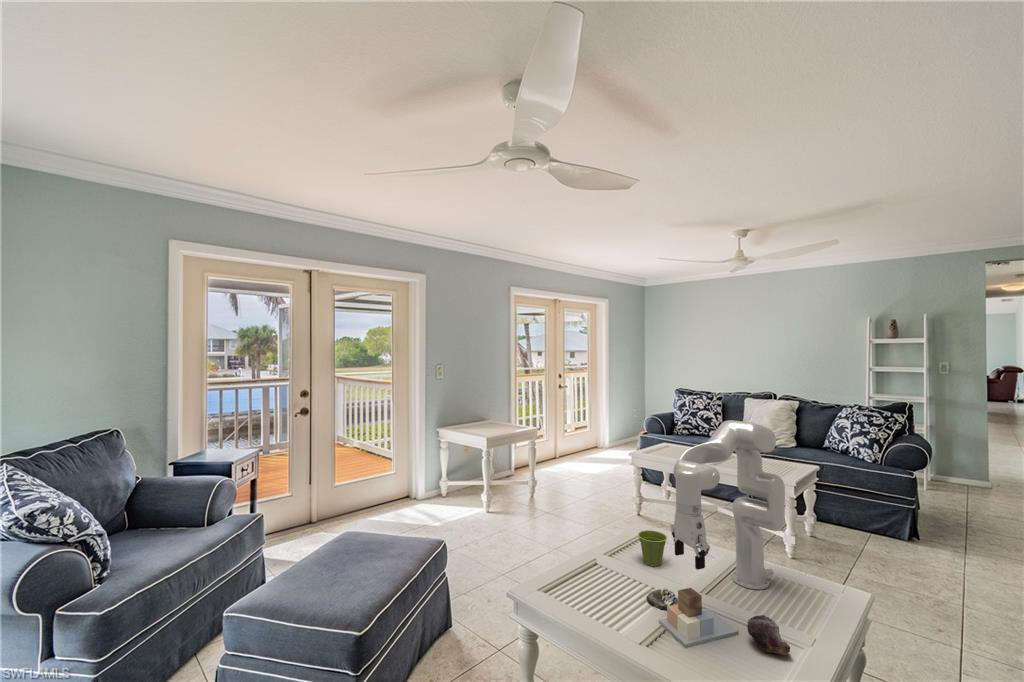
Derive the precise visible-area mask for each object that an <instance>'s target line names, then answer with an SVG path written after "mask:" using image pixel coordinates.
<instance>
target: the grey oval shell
mask: <svg viewBox="0 0 1024 682" xmlns="http://www.w3.org/2000/svg"><path fill="white" fill-rule="evenodd" d="M646 600H647V603H648V604H649V605H650V606H652V607H653V608H655V609H658V610H660V611H664V612H667V606H672V605H676V604H678V597H677V594H676V593H675V592H674V591H672V590H669V588H662V589H655V590H652V591H651V592H649V593H648V594H647V596H646Z"/></svg>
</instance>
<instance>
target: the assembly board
mask: <svg viewBox="0 0 1024 682" xmlns="http://www.w3.org/2000/svg"><path fill="white" fill-rule="evenodd" d="M703 610H704V611H706V612H707V613H708V614H709V615H711V616H712V617H713V618H714V633H712V634H708V635H704V636H700V637H696V638H692V639H688V640H687V639H686V638H685V637H684V636H683V635H682V634H681V633H680V632H678V631H677V630H676V629H675V628H674V627H673V626H672V625H671V624H670V623H669V622H667V617H665V618H661V619H658V624H659V625H661V627H662V628H663V629H664V630H665V631H666V632H668V633H669V634H670V635H671V636H672V637H673V638H674V639H675V640H676V641H678V643H680V644H681V645H682V646H683V647H684V648H685V649H686V648H690V647H693V646H698V645H701V644H705V643H709V642H713V641H717V640H721V639H725V638H729V637H732V636H737V635H739V633H740V632H739V631H740V630H738V629H737V628H735V627H734V626H733V625H731V623H728V622H727V621H726V620H725V619H723V618H722V617H721V616H720V615H718V614H717V613H716V612H714V611H713V610H712V609H710V608H705V609H703Z"/></svg>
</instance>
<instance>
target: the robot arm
mask: <svg viewBox="0 0 1024 682" xmlns="http://www.w3.org/2000/svg"><path fill="white" fill-rule="evenodd" d="M776 437H777V436H776V434H775V433H774V431H773V430H772V429H770V428H768V427H765V426H764V425H761V424H759V423H756V422H749V421H742V420H741V421H740V420H732V419H731V420H725V421H723V422H721V423H720V425H719V426H718V427H717V428H716V430H715V431H714V433H713V434H712V435H711V437H710V438H709V439H708V440H707V441H705V442H703V443H700V444H698V445H695V446H692V447H690V448H688V449H686V450H685V451H684V452H683V453H682V454H681V455H680V456H679V458H678V459H677V460H676V462H675V465H674V466H673V476H674V478H675V513H674V522H673V523H674V524H670V525H669V526H670V531H671V536H672V538H673V543H674V556H676V557H677V556H683V555H685V545H687V546H688V547H690V548H692V549H693V551H694V553H695V556H694V568H695V570H698V571H699V570H703V569H705V568H706V557H707V555H708V554H709V551H710V549H711V545H710V544H709V543H708V542H707V535H706V534H707V533H706V531H707V530H706V524H705V523H706V522H705V519H704V515H703V513H702V491H705V490H712V489H714V488H716V487H717V486H718V484H719V482H720V479H721V477H720V475H721V474H720V472H719V471H718V469H717V468H716V467H714V466H712V465H709V464H711V463H712V464H714V463H720V462H725V461H727V460H728V459H730V458H731V456H732V455H733V453H734V452H735V454H736V459H737V471H736V473H737V474H736V477H737V481H736V482H737V488H738V490H739V492H741V493H742V494H744V495H748V496H752V497H756V498H761V499H764V500H766V501H763V500H760V499H756V498H751V497H746V496H739V497H737V498H735V499H734V500H733V502H732V514H733V518H734V524H735V562H736V563H735V565H736V567H735V571H733V572H732V573H731V579H732V581H733V582H735V584H737V585H739V586H740V587H743V588H747V589H750V590H751V589H752V590H765V589H767V588H768V587H769V586H770V581H769V580H768V578H767V577H768V576H771V575H774V570H773V569H772V568H767V569H766V568H765V554H764V553H765V548H764V547H765V545H764V544H765V543H764V542H765V540H764V535H763V533H762V529H765V530H769V531H773V532H780V531H781V530H783V528H784V526H785V519H786V488H785V487H786V486H785V483H784V480H783V479H782V477H781V476H779V475H778V474H774V473H771V472H765V471H763V458H762V455H761V453H760V452H763V453H770V452H773V450H775V447H776V445H777V438H776ZM760 528H762V529H760Z"/></svg>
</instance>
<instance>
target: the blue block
mask: <svg viewBox="0 0 1024 682" xmlns="http://www.w3.org/2000/svg"><path fill="white" fill-rule="evenodd" d="M695 617H696V618H698V619H699V620H700V636H704V635H708V634H712V633H714V618H713V617H712V616H711V615H709V614H708V613H707V612H706V611H704V609H703V608H702V615H699V616H695Z"/></svg>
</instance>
